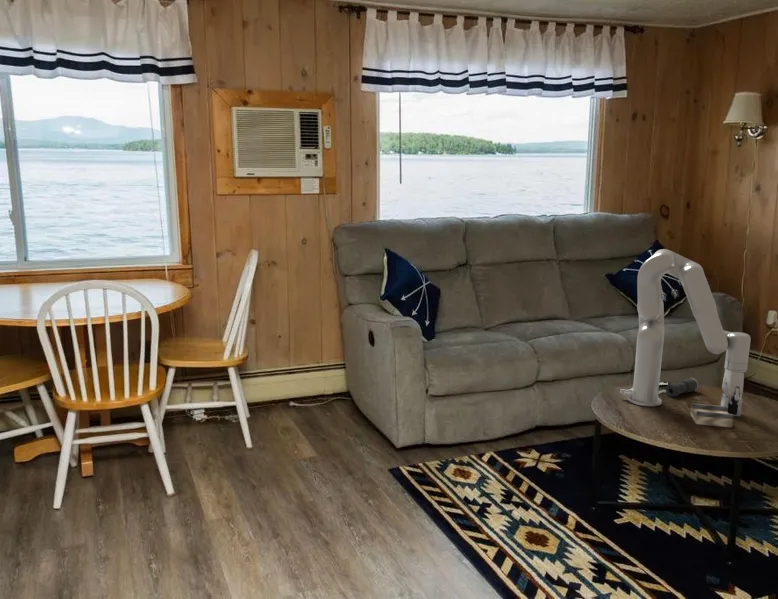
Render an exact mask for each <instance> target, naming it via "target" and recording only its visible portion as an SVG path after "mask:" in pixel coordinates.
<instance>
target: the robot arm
mask: <svg viewBox="0 0 778 599" xmlns="http://www.w3.org/2000/svg"><path fill="white" fill-rule="evenodd" d="M665 274H668V275H670V276H672V277H674V278H676V279H679V280H680V283H681V286H682V288H683V291H684V293H685V295H686V298H687V301H688V304H689V305H690V306H689V307H690V309H691V312H692V315H693V316H694V318H695V322H696V324H697V326H698V329H699V332H700V334H701V337H702V340H703V342H704V344H705V348H706V349H707V350H708V352H710V353H712V354H715V355H719V354H723V353H724V352H726V353H725V360H724V373H723V377H722V385H721V389H722V391H723V394H726V395H727V396H728V397H730V404H728V413H729V414H733V415H737V410H738V403H739V400H740V399H739V397H742V396H743V393H744V392H743V391H744V380H745V372H747V371H748V364H749V356H750V355H749V354H750V348H751V340H752V339H751V335H750V334H748V333H746V332H740V331H733V332H732V331H727V330H725V329H724V328H723V326H722V323H721V320H720V317H719V313H718V309H717V308H718V307H717V304H716V300H715V298H714V296H713V293H712V291H711V287H710V285H709V282H708V279H707V277H706V275H705V272H704V268H703V267H702V265H701V264H699V263H698V262H696V261H693V260H691V259H689V258H686V257H684V256H683V255H682V254H681V255H680V254H678V253H676V252H675V251H672V250H669V249H666V248H663V249H658V250H656V252H654V253H653V254H652V256H650V257H649V258H648V259H646V260H645V261H644V262H643V263H642V265H641V266H640V268H639V270H638V273H637V278H636V279H637V280H636V282H637V288H636V289H637V303H636V304H637V305H636V310H637V313H638V332H637V336H636V346H635V347H636V349H635V351H636V352H635V362H634V363H635V364H634V373H633V374H634V375H633V384H632V387H631V388H628V389H624V388H620V389H619V390H620V391H619V394H621V395H624V396H627V400H628V401H629V402H630V403H632V404H635V405H638V406H642V407H658V406H661V405H662V402H663V400H662V399H661V398H660V397H659V389H660V379H661V368H662V360H663V351H664V350H663V349H664V342H665V331H666V330H665V311H664V310H665V308H664V300H663V298H662V278H663V276H664V275H665ZM732 395H735V396H732ZM732 398H734V399H733V400H732Z"/></svg>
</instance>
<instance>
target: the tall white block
mask: <svg viewBox="0 0 778 599" xmlns="http://www.w3.org/2000/svg"><path fill="white" fill-rule="evenodd" d="M732 396H735V395H732ZM733 399H734V398H732V400H733ZM739 399H740V400H739V403H738V410H737V415H733V417H741V414H742V406H743V405H742V404H743V398H742V396H741V397H739ZM728 404H730V397H728V396H727V395H726V394H725V393H724V392H723V393H721V400H720V406H727V412H728Z"/></svg>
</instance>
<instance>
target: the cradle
mask: <svg viewBox="0 0 778 599" xmlns="http://www.w3.org/2000/svg"><path fill="white" fill-rule="evenodd" d="M690 416H691V417H692V420H693V421H694V423H695V424H696V425H705V426H714V427H722V428H723V427H725V428H733V423H734V416H733V414H729V413H728V412H727V406H721V405H717V404H708V403H707V404H704V403H694V402H692V403H691V407H690Z"/></svg>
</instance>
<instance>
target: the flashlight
mask: <svg viewBox="0 0 778 599" xmlns="http://www.w3.org/2000/svg"><path fill="white" fill-rule="evenodd" d="M698 388H699V383H698V381H697V380H696V379H695V378H693V377H689V378H686V379H684V380H681V381H679V382H676V383H670V384H668V385H666V387H665V392H666V394H667V396H668V397H671V398H674V397H678V396H680V395H681V394H687V393H691V392H694V391H697V390H698Z"/></svg>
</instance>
